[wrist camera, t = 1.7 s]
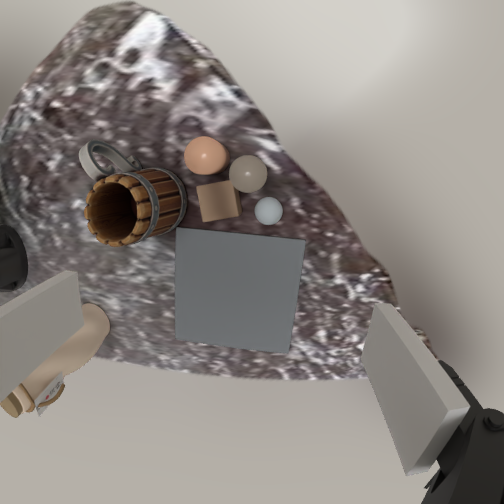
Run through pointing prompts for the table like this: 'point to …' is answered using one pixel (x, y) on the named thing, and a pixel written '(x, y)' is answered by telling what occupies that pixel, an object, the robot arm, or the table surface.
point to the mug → (130, 198)
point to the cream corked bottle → (59, 365)
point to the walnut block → (219, 201)
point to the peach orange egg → (206, 156)
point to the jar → (248, 173)
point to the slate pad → (236, 288)
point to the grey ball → (268, 210)
